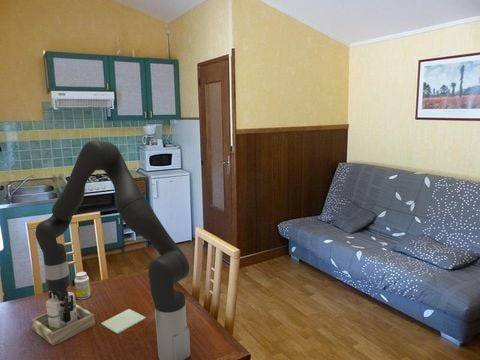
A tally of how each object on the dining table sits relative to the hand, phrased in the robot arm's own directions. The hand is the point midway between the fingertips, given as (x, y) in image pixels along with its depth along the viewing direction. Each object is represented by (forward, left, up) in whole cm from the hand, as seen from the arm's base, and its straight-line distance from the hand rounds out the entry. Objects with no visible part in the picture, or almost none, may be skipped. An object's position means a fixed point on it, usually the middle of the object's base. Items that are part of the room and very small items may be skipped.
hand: (62, 318), depth 134 cm
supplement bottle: (+15, -16, -4) cm, 22 cm away
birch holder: (0, 0, -4) cm, 4 cm away
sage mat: (-14, -15, -4) cm, 21 cm away
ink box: (0, 0, -4) cm, 4 cm away
